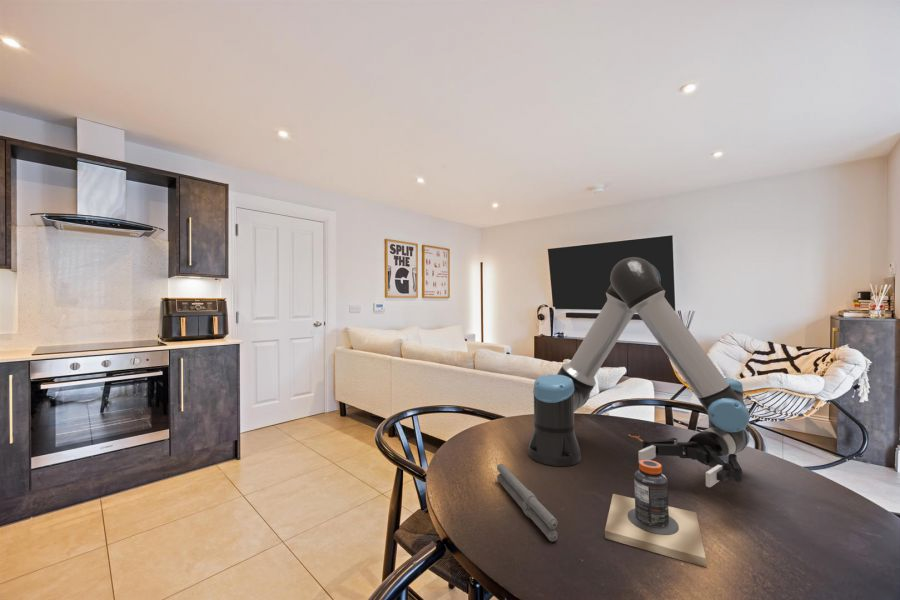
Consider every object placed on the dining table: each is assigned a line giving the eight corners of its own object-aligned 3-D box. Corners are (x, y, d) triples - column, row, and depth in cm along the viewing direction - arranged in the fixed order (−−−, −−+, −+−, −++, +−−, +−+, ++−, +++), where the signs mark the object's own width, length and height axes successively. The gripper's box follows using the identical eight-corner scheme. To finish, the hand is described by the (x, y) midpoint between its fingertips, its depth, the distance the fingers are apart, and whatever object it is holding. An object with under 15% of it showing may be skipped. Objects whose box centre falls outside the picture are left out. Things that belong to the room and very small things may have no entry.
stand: (604, 538, 70) (604, 529, 70) (613, 500, 84) (612, 492, 84) (705, 567, 62) (705, 557, 62) (696, 519, 76) (696, 511, 76)
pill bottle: (667, 515, 74) (665, 459, 75) (670, 531, 69) (669, 471, 69) (634, 509, 77) (633, 455, 77) (635, 524, 71) (634, 466, 72)
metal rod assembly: (495, 482, 93) (495, 463, 93) (505, 481, 93) (505, 462, 94) (548, 546, 68) (547, 519, 68) (561, 543, 69) (560, 517, 69)
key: (668, 453, 112) (642, 436, 127) (669, 450, 112) (642, 433, 127) (650, 452, 112) (626, 435, 127) (650, 449, 112) (626, 432, 127)
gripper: (777, 480, 80) (743, 511, 68) (659, 446, 101) (617, 465, 88) (776, 446, 80) (742, 471, 68) (659, 419, 101) (616, 434, 89)
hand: (671, 467), depth 78 cm, fingers open, 13 cm apart
